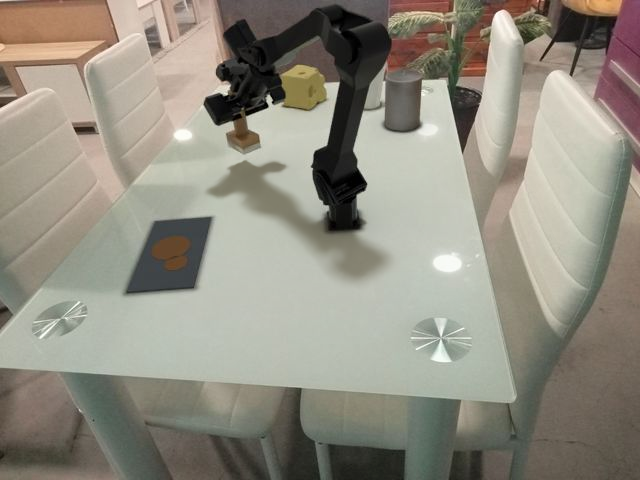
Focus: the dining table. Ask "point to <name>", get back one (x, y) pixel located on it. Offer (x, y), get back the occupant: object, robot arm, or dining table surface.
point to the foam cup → (375, 90)
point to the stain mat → (171, 255)
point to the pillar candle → (403, 99)
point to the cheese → (303, 87)
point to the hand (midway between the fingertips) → (236, 117)
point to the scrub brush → (242, 135)
